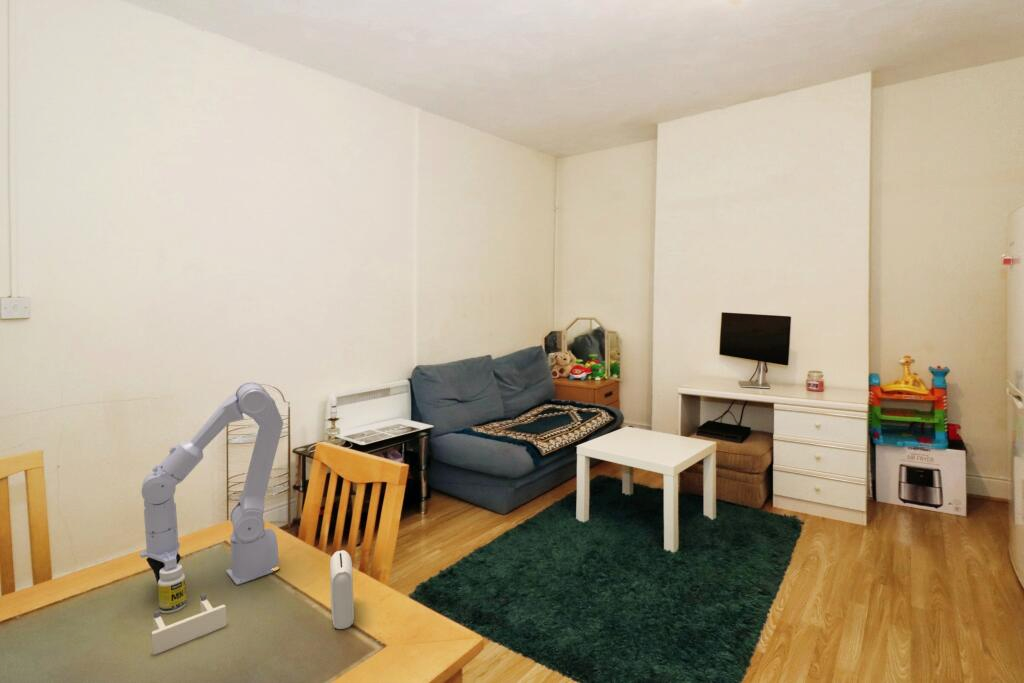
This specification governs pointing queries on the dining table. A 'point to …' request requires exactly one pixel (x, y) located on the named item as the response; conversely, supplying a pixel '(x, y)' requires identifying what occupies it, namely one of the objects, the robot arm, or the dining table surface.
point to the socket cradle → (187, 626)
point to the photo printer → (341, 590)
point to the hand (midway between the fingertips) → (165, 587)
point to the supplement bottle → (171, 589)
